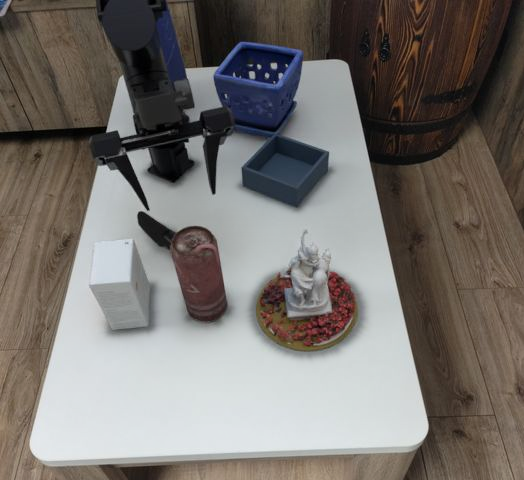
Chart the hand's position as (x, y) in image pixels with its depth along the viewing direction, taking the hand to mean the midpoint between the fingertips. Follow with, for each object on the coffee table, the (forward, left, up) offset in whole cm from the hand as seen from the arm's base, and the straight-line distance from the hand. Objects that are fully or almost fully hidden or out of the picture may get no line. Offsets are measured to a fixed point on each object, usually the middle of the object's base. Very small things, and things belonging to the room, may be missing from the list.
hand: (181, 202), depth 68 cm
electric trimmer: (-6, +2, -14) cm, 15 cm away
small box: (-4, -11, -14) cm, 18 cm away
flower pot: (-12, +38, -14) cm, 42 cm away
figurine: (+19, +2, -14) cm, 23 cm away
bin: (+1, +26, -13) cm, 29 cm away
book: (-31, +34, -13) cm, 48 cm away
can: (+6, -5, -14) cm, 16 cm away
